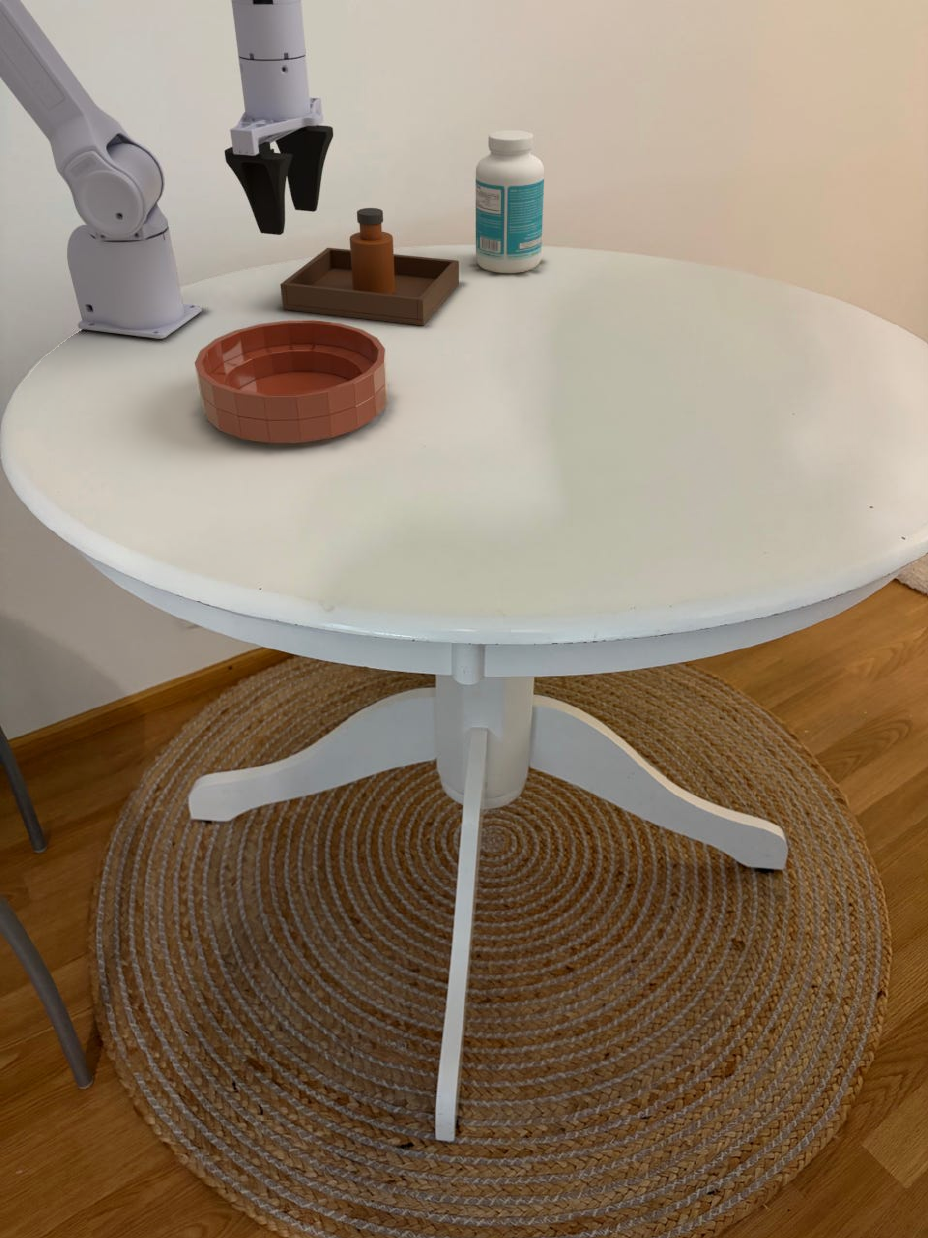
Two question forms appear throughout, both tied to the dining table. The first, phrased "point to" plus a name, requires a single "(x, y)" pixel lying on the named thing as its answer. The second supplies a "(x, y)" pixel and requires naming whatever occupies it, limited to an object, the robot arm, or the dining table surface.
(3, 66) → the robot arm
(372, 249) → the bottle
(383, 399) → the bowl
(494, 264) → the pill bottle
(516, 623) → the dining table surface
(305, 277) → the tray
